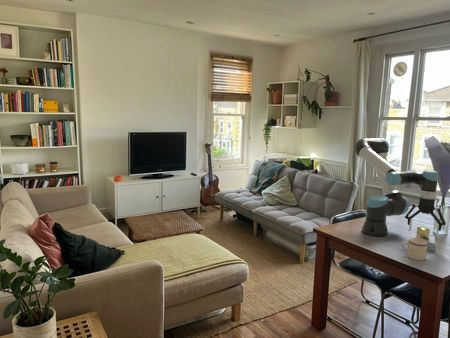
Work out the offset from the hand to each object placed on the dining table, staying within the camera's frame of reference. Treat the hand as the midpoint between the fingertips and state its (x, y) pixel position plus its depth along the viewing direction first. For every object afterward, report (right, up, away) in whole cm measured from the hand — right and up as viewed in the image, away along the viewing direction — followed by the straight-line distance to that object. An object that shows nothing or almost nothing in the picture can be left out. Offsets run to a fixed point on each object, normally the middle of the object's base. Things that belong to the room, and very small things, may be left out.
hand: (423, 233), depth 193 cm
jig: (0, -7, +1) cm, 7 cm away
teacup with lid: (-14, -10, -14) cm, 22 cm away
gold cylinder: (0, -7, +1) cm, 7 cm away
